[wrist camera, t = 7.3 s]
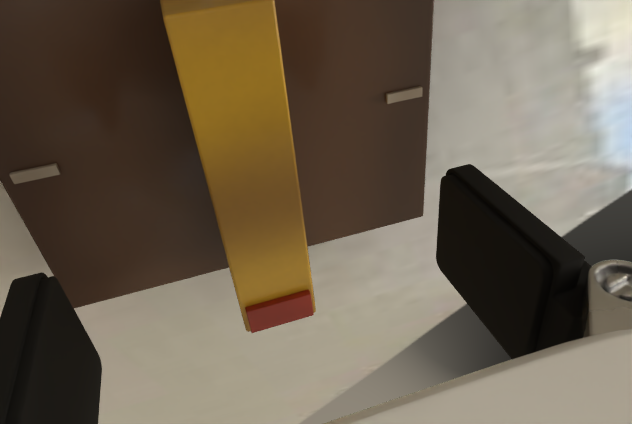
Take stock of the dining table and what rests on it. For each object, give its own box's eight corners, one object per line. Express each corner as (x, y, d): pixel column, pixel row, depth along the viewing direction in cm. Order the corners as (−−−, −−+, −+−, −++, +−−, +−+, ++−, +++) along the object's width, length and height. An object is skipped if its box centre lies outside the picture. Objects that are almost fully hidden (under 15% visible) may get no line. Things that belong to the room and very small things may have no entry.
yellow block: (155, -22, 14) (162, 18, 10) (240, -34, 14) (277, -1, 10) (227, 249, 19) (248, 339, 16) (284, 234, 20) (318, 318, 16)
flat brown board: (398, -145, 16) (445, -147, 14) (395, 201, 25) (424, 237, 22) (-98, -87, 14) (-150, -78, 11) (88, 279, 22) (82, 331, 20)
